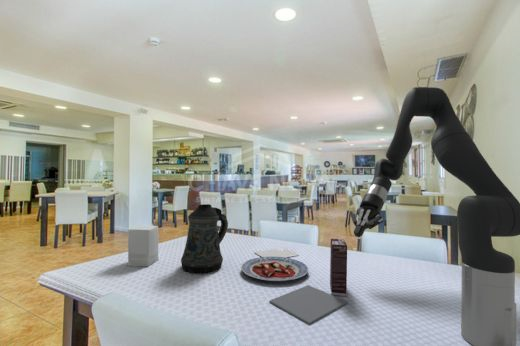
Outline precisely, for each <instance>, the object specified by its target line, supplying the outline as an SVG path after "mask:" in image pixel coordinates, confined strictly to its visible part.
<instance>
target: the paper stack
mask: <svg viewBox="0 0 520 346" xmlns="http://www.w3.org/2000/svg"><path fill="white" fill-rule="evenodd" d="M253 253H254V254H256V255H257V256H260V257H285V258H290V257H291V258H292V257H297V256H298V254H297V253H295V252H293V251H291V250H289V249H286V248H284V249H283V251H281V250H280V251H279V250H278V249H277V248H271V249H264V250H258V251H253Z"/></svg>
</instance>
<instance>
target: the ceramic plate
mask: <svg viewBox="0 0 520 346" xmlns="http://www.w3.org/2000/svg"><path fill="white" fill-rule="evenodd" d="M240 269H241V271H242V272H243V274H245V275H246V276H249V277H252V278H253V279H256V280H257V279H258V280H262V281H269V282H287V281H292V280H296V279H301V278H303V277H304V276H306V275H307V274H308V272H309V267H308V266H307V264H305V263H304V262H302V261H300V260H297V259H295V258H292V257H291V258H290V257H261V256H260V257H255V258H251V259H248V260H247V261H245V262H243V263H242V265H241V266H240Z"/></svg>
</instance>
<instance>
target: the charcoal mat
mask: <svg viewBox="0 0 520 346" xmlns="http://www.w3.org/2000/svg"><path fill="white" fill-rule="evenodd" d="M269 303H270V304H272V305H274V306H276V307H277V308H278V309H280V310H282V311H284V312H285V313H287V314H289V315H291V316H293V317H295V318H296V319H298V320H300V321H301V322H304V323H305V324H307V325H312V324H314V323H315V322H317V321H319V320H321V319H323V318H324V317H326V316H328V315H329V314H331V313H333V312H336V310H338V309H341V308H342V307H344V306H346V305H347V304H349V301H347V300H345V299H343V298H340V297H339V296H338V297H337V296H336V295H332V294H330V293H329V292H326V291H323V290H321V289H318V288H316V287H313V286H311V285H309V284H308V285H304V286H303V287H300V288H297V289H295V290H292V291H290V292H287V293H284V294H283V295H280V296H278V297H275V298H273V299H271V300H269Z"/></svg>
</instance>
